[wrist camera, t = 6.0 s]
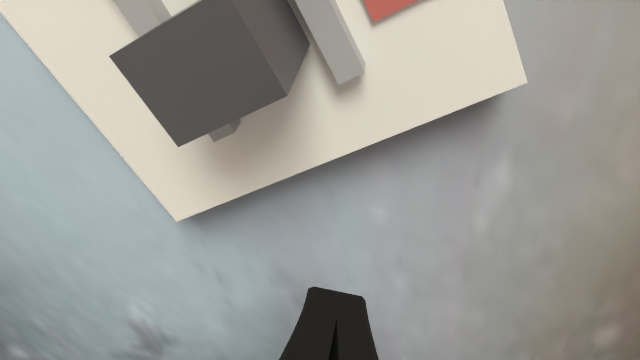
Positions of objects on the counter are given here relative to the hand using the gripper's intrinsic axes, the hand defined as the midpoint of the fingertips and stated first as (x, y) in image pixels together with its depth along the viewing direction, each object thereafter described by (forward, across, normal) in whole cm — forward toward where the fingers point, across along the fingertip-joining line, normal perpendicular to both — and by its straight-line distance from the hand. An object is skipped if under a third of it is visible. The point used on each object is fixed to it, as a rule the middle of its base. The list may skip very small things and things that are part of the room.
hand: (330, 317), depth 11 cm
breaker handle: (+5, +4, -5) cm, 8 cm away
